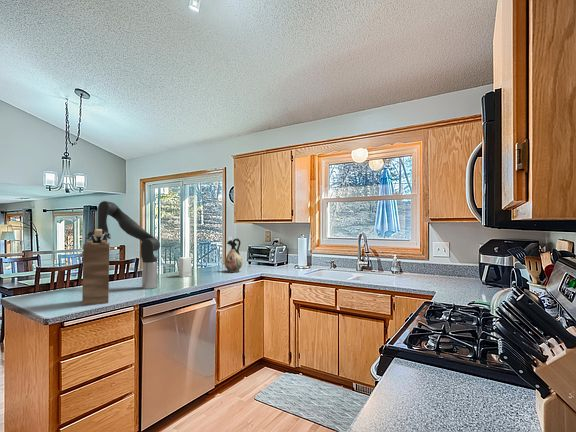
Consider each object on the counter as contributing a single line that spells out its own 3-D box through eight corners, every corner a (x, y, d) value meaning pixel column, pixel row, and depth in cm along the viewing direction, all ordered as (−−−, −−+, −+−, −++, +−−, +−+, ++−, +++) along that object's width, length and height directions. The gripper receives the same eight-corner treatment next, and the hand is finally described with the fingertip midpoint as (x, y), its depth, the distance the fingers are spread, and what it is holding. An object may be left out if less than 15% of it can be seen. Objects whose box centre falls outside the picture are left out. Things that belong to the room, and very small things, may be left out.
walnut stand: (83, 300, 181) (85, 240, 182) (108, 298, 187) (109, 240, 187) (82, 305, 170) (83, 241, 171) (108, 302, 176) (109, 241, 177)
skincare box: (187, 275, 268) (187, 256, 268) (191, 276, 264) (192, 257, 264) (178, 276, 261) (178, 257, 262) (182, 277, 257) (182, 258, 257)
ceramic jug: (222, 272, 282) (222, 238, 283) (227, 270, 298) (228, 237, 298) (241, 273, 280) (241, 238, 281) (245, 270, 295) (246, 238, 296)
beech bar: (95, 234, 203) (95, 229, 203) (101, 234, 205) (102, 229, 205) (94, 236, 181) (94, 230, 181) (101, 236, 182) (101, 230, 182)
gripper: (86, 237, 209) (85, 224, 196) (111, 237, 216) (111, 224, 203) (85, 248, 205) (84, 235, 192) (111, 247, 212) (111, 235, 199)
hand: (98, 229), depth 198 cm, fingers closed on beech bar, 3 cm apart
